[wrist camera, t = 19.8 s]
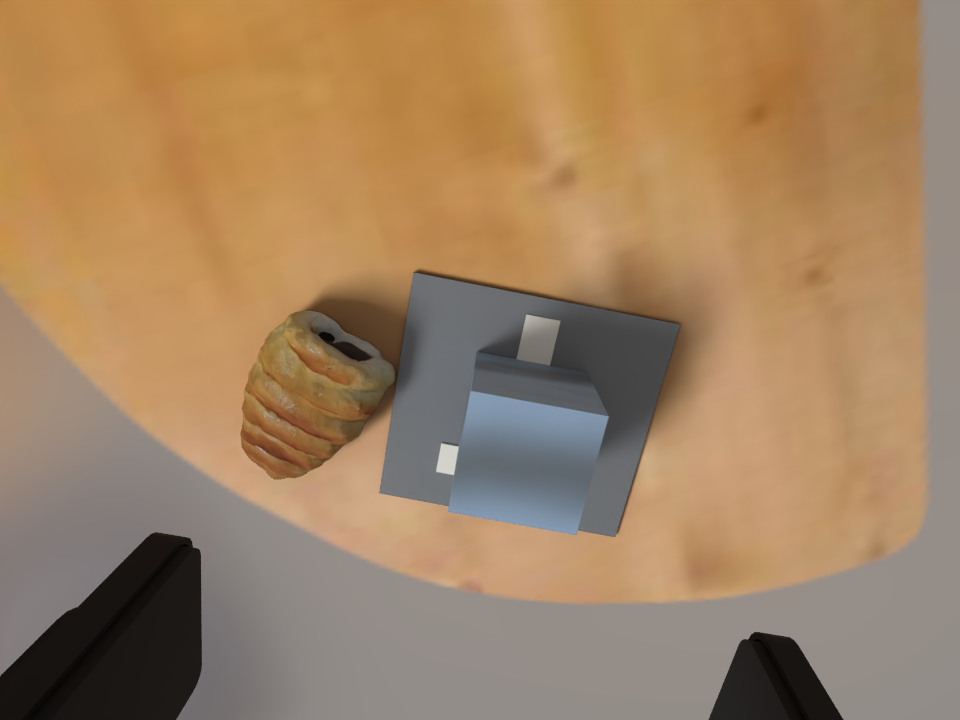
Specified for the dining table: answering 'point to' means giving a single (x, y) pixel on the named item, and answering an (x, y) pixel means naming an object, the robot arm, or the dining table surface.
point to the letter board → (529, 337)
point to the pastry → (309, 394)
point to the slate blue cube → (527, 444)
